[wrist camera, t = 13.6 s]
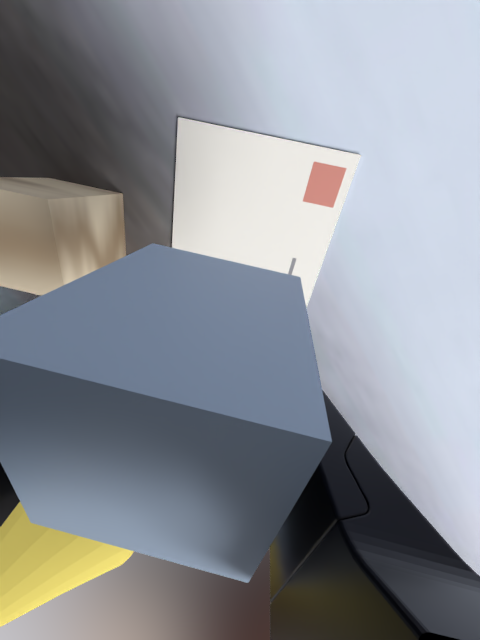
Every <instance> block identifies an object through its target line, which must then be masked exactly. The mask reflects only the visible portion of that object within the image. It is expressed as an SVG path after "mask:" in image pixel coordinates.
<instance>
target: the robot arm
mask: <svg viewBox="0 0 480 640" xmlns="http://www.w3.org/2000/svg"><path fill="white" fill-rule="evenodd" d="M322 392H323V397H324V403H325V408H326V413H327V418H328V423H329V429H330V434H331V439H332V443H331V445H330V446H329V448H328V450H327V451H326V453H325V455H324V456H323V458H322V460H321V461H320V463H319V465H318V466H317V468H316V470H315V471H314V473H313V475H312V476H311V478H310V480H309V482H308V483H307V485H306V487H305V488H304V490H303V492H302V493H301V495H300V497H299V498H298V500H297V502H296V503H295V505H294V507H293V508H292V510H291V512H290V513H289V515H288V517H287V519H286V520H285V522H284V524H283V525H282V527H281V529H280V530H279V532H278V534H277V535H276V537H275V539H274V540H273V542H272V544H271V545H270V601H271V604H270V640H480V576H479V575H478V574H477V573H476V572H474V571H473V570H472V569H471V568H470V567H469V566H468V565H467V564H466V563H465V562H464V561H463V560H462V559H461V558H460V556H459V555H458V554H457V553H456V552H455V551H454V550H453V549H452V548H451V547H450V545H449V544H448V543H447V542H446V541H445V540H444V539H443V537H442V536H441V535H440V534H439V533H438V532H437V531H436V529H435V528H434V527H433V526H432V525H431V524H430V523H429V522H428V520H427V519H426V518H425V517H424V516H423V515H422V514H421V512H420V511H419V510H418V509H417V508H416V507H415V506H414V504H413V503H412V502H411V501H410V500H409V499H408V498H407V496H406V495H405V494H404V493H403V492H402V491H401V490H400V488H399V487H398V486H397V485H396V484H395V483H394V481H393V480H392V479H391V478H390V477H389V475H388V474H387V473H386V472H385V471H384V470H383V468H382V467H381V466H380V465H379V463H378V462H377V461H376V460H375V458H374V457H373V456H372V455H371V453H370V452H369V451H368V449H367V448H366V447H365V446H364V444H363V443H362V442H361V440H360V439H359V438H358V436H355V432H354V431H353V430H352V429H351V427H350V426H349V425H348V423H347V422H346V421H345V419H344V418H343V417H342V415H341V414H340V413H339V411H338V410H337V409H336V407H335V406H334V405H333V403H332V402H331V401H330V399H329V398H328V397H327V395H326V394H325V393H324V391H323V390H322ZM19 502H20V500H19V498H18V496H17V494H16V492H15V490H14V488H13V486H12V484H11V482H10V480H9V478H8V476H7V474H6V472H5V470H4V468H3V466H2V464H1V462H0V527H1V526H2V525H3V523H4V522H5V521H6V519H7V518H8V517H9V515H10V514H11V513H12V511H13V510H14V509H15V507H16V506H17V505H18V503H19Z"/></svg>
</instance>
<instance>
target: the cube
mask: <svg viewBox="0 0 480 640" xmlns="http://www.w3.org/2000/svg"><path fill="white" fill-rule="evenodd" d="M331 443H332V439H331V434H330V429H329V423H328V418H327V413H326V408H325V403H324V397H323V392H322V387H321V382H320V377H319V371H318V366H317V361H316V356H315V351H314V345H313V340H312V335H311V330H310V325H309V319H308V314H307V309H306V304H305V299H304V293H303V288H302V283H301V278H300V277H298V276H294V275H289V274H285V273H280V272H276V271H272V270H267V269H263V268H259V267H254V266H250V265H245V264H241V263H237V262H232V261H228V260H224V259H219V258H215V257H210V256H206V255H202V254H197V253H193V252H189V251H184V250H180V249H175V248H171V247H167V246H162V245H158V244H154V243H153V244H150V245H148V246H146V247H144V248H142V249H140V250H138V251H136V252H133V253H131V254H129V255H127V256H125V257H123V258H121V259H119V260H116V261H114V262H112V263H110V264H108V265H106V266H104V267H102V268H99V269H97V270H95V271H93V272H91V273H89V274H87V275H85V276H82V277H80V278H78V279H76V280H74V281H72V282H70V283H68V284H65V285H63V286H61V287H59V288H57V289H55V290H53V291H51V292H48V293H46V294H44V295H42V296H40V297H38V298H36V299H34V300H32V301H29V302H27V303H25V304H23V305H21V306H19V307H17V308H15V309H12V310H10V311H8V312H6V313H4V314H2V315H0V462H1V464H2V466H3V468H4V470H5V472H6V474H7V476H8V478H9V480H10V482H11V484H12V486H13V488H14V490H15V492H16V494H17V496H18V498H19V500H20V502H21V504H22V506H23V508H24V510H25V512H26V514H27V516H28V518H29V520H30V522H31V523H33V524H37V525H41V526H44V527H48V528H52V529H55V530H59V531H62V532H66V533H70V534H73V535H77V536H80V537H84V538H88V539H91V540H95V541H99V542H102V543H106V544H109V545H113V546H117V547H120V548H124V549H128V550H131V551H135V552H138V553H142V554H146V555H149V556H153V557H156V558H160V559H164V560H168V561H171V562H175V563H178V564H182V565H185V566H189V567H193V568H196V569H200V570H203V571H207V572H211V573H215V574H218V575H222V576H225V577H229V578H232V579H236V580H240V581H243V582H247V583H248V582H249V581H250V579H251V577H252V576H253V574H254V572H255V571H256V569H257V567H258V566H259V564H260V562H261V561H262V559H263V557H264V555H265V554H266V552H267V550H268V549H269V547H270V545H271V544H272V542H273V540H274V539H275V537H276V535H277V534H278V532H279V530H280V529H281V527H282V525H283V524H284V522H285V520H286V519H287V517H288V515H289V513H290V512H291V510H292V508H293V507H294V505H295V503H296V502H297V500H298V498H299V497H300V495H301V493H302V492H303V490H304V488H305V487H306V485H307V483H308V482H309V480H310V478H311V476H312V475H313V473H314V471H315V470H316V468H317V466H318V465H319V463H320V461H321V460H322V458H323V456H324V455H325V453H326V451H327V450H328V448H329V446H330V445H331Z"/></svg>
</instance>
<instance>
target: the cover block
mask: <svg viewBox="0 0 480 640" xmlns="http://www.w3.org/2000/svg"><path fill="white" fill-rule="evenodd" d="M125 256H126V247H125V227H124V207H123V194H122V193H118V192H113V191H108V190H104V189H99V188H94V187H90V186H85V185H80V184H76V183H71V182H66V181H61V180H57V179H52V178H25V177H0V286H2V287H7V288H11V289H15V290H20V291H24V292H28V293H32V294H37V295H41V296H42V295H44V294H46V293H48V292H51V291H53V290H55V289H57V288H59V287H61V286H63V285H65V284H68V283H70V282H72V281H74V280H76V279H78V278H80V277H82V276H85V275H87V274H89V273H91V272H93V271H95V270H97V269H99V268H102V267H104V266H106V265H108V264H110V263H112V262H114V261H116V260H119V259H121V258H123V257H125Z"/></svg>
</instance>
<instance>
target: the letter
mask: <svg viewBox="0 0 480 640" xmlns="http://www.w3.org/2000/svg"><path fill="white" fill-rule="evenodd" d="M360 157H361V155H358V154H354V153H349V152H344V151H339V150H334V149H330V148H325V147H320V146H315V145H310V144H305V143H301V142H296V141H291V140H286V139H281V138H277V137H272V136H267V135H262V134H257V133H252V132H248V131H243V130H238V129H233V128H228V127H224V126H219V125H214V124H209V123H204V122H199V121H195V120H190V119H185V118H180V117H178V130H177V151H176V172H175V193H174V214H173V235H172V248H175V249H180V250H184V251H189V252H193V253H197V254H202V255H206V256H210V257H215V258H219V259H224V260H228V261H232V262H237V263H241V264H245V265H250V266H254V267H259V268H263V269H267V270H272V271H276V272H280V273H285V274H289V275H294V276H298V277H300V278H301V283H302V288H303V293H304V299H305V304H306V308H307V305H308V302H309V299H310V297H311V294H312V291H313V288H314V285H315V283H316V280H317V277H318V274H319V271H320V269H321V266H322V263H323V260H324V257H325V255H326V252H327V249H328V246H329V243H330V241H331V238H332V235H333V232H334V230H335V227H336V224H337V221H338V218H339V216H340V213H341V210H342V207H343V204H344V202H345V199H346V196H347V193H348V190H349V188H350V185H351V182H352V179H353V176H354V174H355V171H356V168H357V165H358V162H359V160H360Z"/></svg>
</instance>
